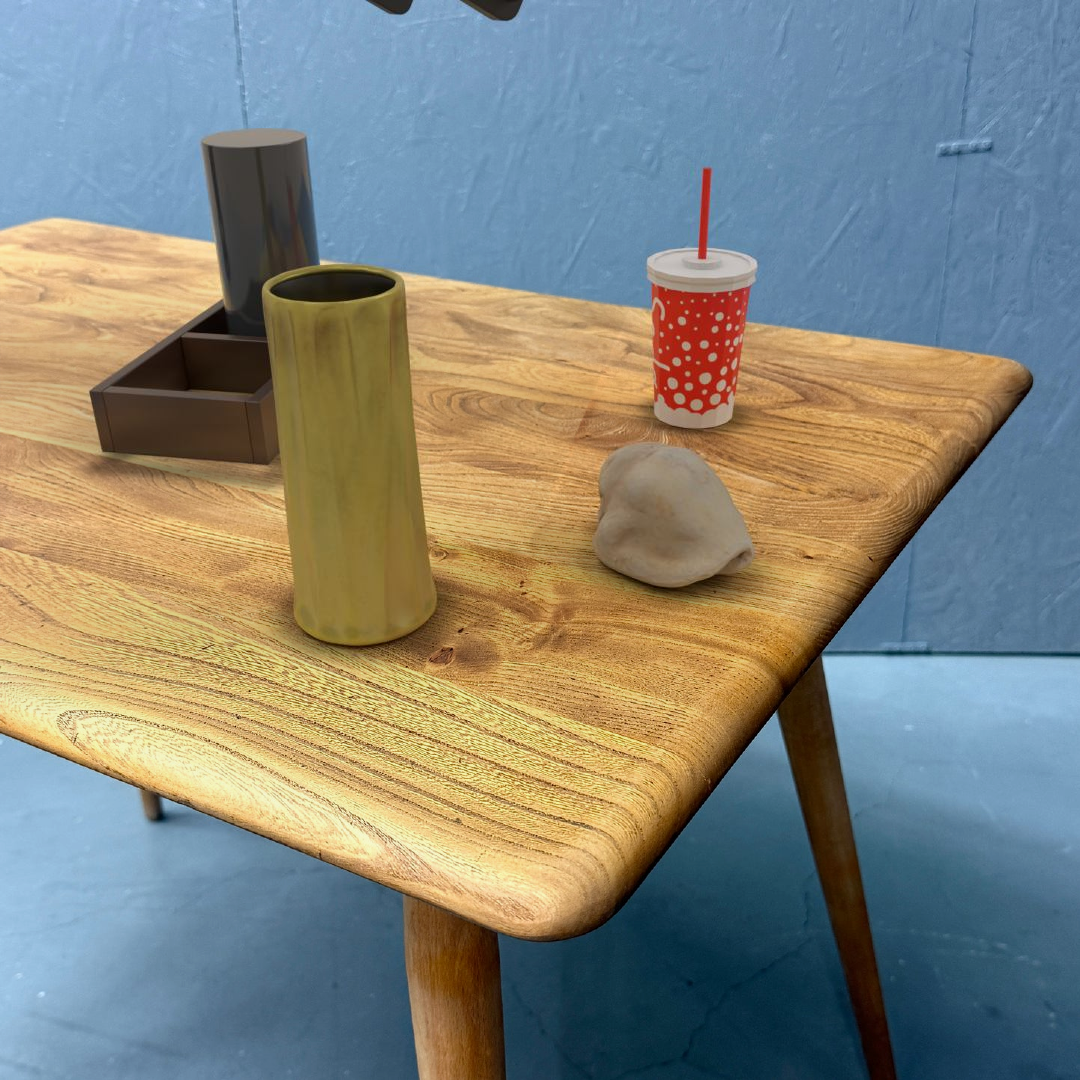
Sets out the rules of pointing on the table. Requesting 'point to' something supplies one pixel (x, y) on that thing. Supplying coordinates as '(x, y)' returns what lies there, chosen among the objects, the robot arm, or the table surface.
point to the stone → (667, 517)
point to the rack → (193, 397)
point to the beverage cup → (698, 327)
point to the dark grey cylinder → (258, 215)
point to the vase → (349, 452)
